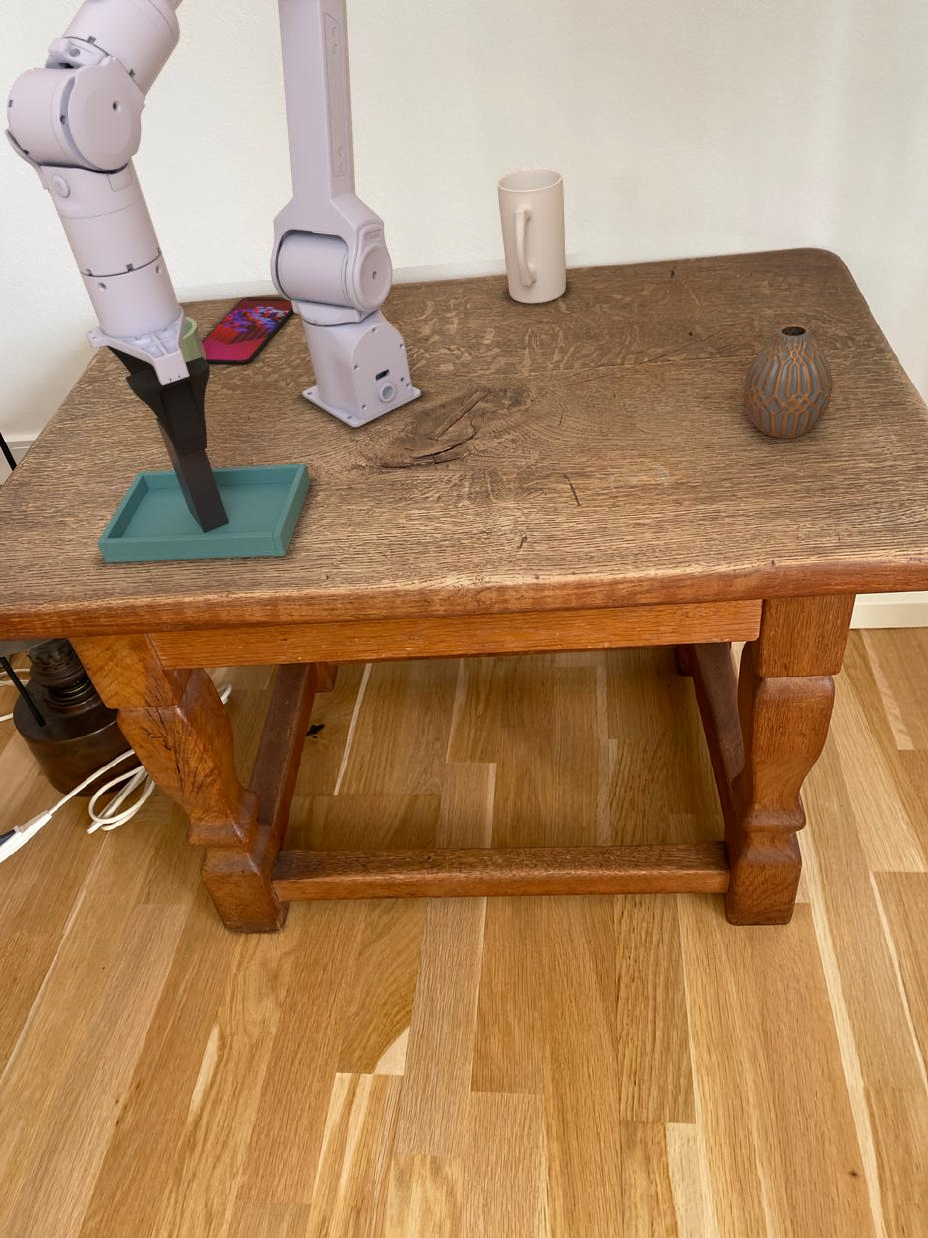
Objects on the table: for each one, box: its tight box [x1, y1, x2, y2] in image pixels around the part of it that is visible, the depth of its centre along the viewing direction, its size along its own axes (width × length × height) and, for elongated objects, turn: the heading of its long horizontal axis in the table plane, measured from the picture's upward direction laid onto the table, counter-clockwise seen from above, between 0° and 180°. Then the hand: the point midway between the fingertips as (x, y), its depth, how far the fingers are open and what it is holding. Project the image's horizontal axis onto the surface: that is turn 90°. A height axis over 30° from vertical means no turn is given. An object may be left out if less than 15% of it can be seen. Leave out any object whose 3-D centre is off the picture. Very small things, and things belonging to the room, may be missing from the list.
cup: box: [181, 316, 207, 362], centre depth 106 cm, size 7×7×4 cm
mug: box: [496, 167, 567, 304], centre depth 106 cm, size 10×7×12 cm, turn 165°
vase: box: [743, 323, 833, 439], centre depth 83 cm, size 7×7×9 cm
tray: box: [96, 462, 312, 563], centre depth 84 cm, size 15×10×2 cm
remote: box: [155, 417, 229, 533], centre depth 81 cm, size 2×4×9 cm, turn 30°
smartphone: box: [202, 296, 295, 366], centre depth 112 cm, size 8×1×15 cm
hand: (179, 429), depth 79 cm, fingers open, 7 cm apart
